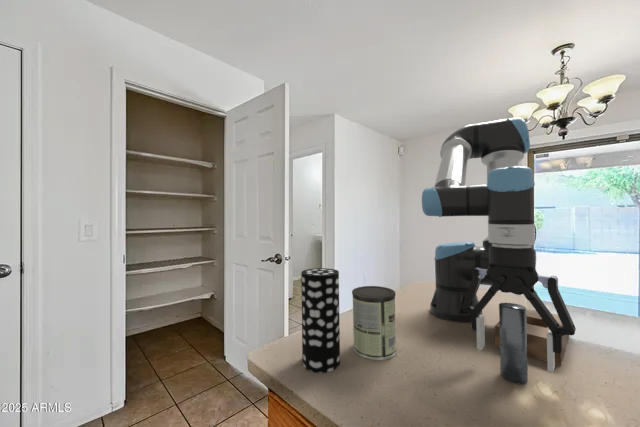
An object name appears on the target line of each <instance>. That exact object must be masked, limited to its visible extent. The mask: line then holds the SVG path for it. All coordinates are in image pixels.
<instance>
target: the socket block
mask: <svg viewBox="0 0 640 427" xmlns="http://www.w3.org/2000/svg"><path fill="white" fill-rule="evenodd" d="M550 313H551V314H552V315H553V317H554V318H555V319H556V321H557V322H558V324H559V325H560V326H563V325H562V323H561V320H560V318H559V316H558V314H556V313H552V312H550ZM526 319H527V357H531V358H534V359H538V360H541V361H545V362H547V333H548V331H549V330H550V329H549V328H548V326H547V325H546V324H545V322H544V321H543V320H542V318H541V317H540V315H539V314H538V313H537V311H536V310H535V309H531V308H530V309H529V308H526ZM569 337H570V335H563V336H562V352H561V353H560V354H559V353H555V365H558V366H562V365H563V364H562V363H563V360H564V357H565V352H566V349H567V345H568V341H569ZM494 342H495V347H496V348H499V349H500V327H499V321H498V322H497V323H496V324H495V325H494Z"/></svg>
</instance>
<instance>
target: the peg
mask: <svg viewBox="0 0 640 427" xmlns="http://www.w3.org/2000/svg"><path fill="white" fill-rule="evenodd" d="M526 309H527V307H526V306H524V305H521V304H517V303H513V302H512V303H511V302H500V303H498V312H499V313H498V314H499V315H498V318H499V321H498V322H499V327H500V348H499V358H500V359H499V360H500V361H499V366H500V371H499V372H500V376H501V377H502V378H503V379H504V380H505V381H507V382H509V381H510V383H513V384H517V385H526V384H527V382H529V374H528V373H529V372H528V369H529V367H528V365H529V364H528V356H527V319H526Z"/></svg>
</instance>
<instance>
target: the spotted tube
mask: <svg viewBox="0 0 640 427" xmlns="http://www.w3.org/2000/svg"><path fill="white" fill-rule="evenodd" d="M300 276H301V278H300V279H301V281H300V282H301V328H302V329H301V340H302V341H301V345H302V346H301V348H302V349H301V350H302V352H301V353H302V357H301V358H302V366H303V368H305V369H306V370H308V371H310V372H312V373H318V374H321V373H322V374H323V373H325V374H326V373H331V372H333V371H334V370H336V369H338V367H339V366H340V364H341V344H340V342H341V336H340V335H341V333H340V329H341V328H340V326H341V324H340V272H339V270H338V269H333V268H323V267H321V268H320V267H319V268H307V269H304V270H302V271H301V275H300Z"/></svg>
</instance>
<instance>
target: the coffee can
mask: <svg viewBox="0 0 640 427" xmlns="http://www.w3.org/2000/svg"><path fill="white" fill-rule="evenodd" d="M351 295H352V322H353V326H352V327H353V351H354V353H356V355H357V356H359V357H361V358H363V359H366V360H371V361H385V360H389V359H391V358H394V357H395V356H396V354H397V335H396V334H397V333H396V332H397V331H396V329H397V328H396V291H395V290H394V289H391V288H389V287H385V286H377V285H364V286H358V287H356V288H353V289H352V291H351Z"/></svg>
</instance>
